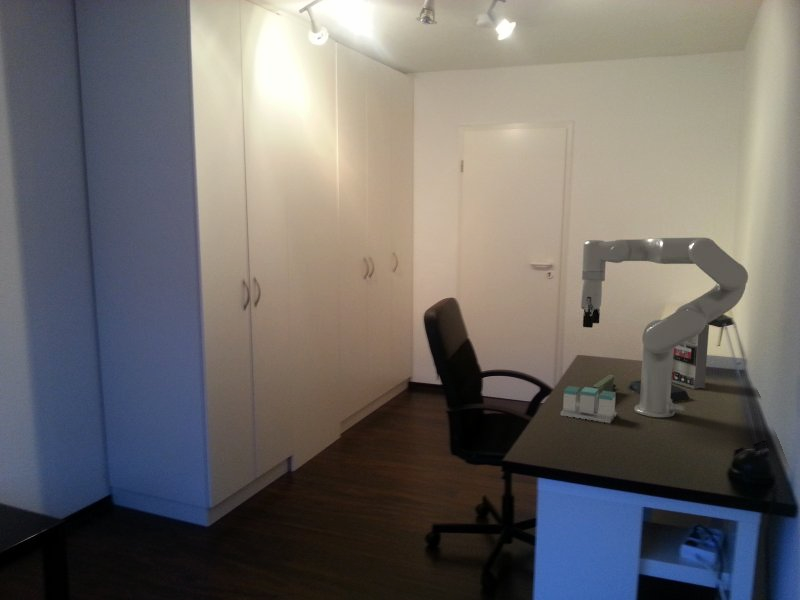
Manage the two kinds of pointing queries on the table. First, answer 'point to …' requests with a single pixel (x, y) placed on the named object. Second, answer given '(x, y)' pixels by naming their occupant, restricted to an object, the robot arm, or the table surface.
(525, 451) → the table surface
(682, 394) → the external hard drive
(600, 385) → the handheld radio
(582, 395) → the block
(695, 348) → the grey printed box
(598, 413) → the rail plate
